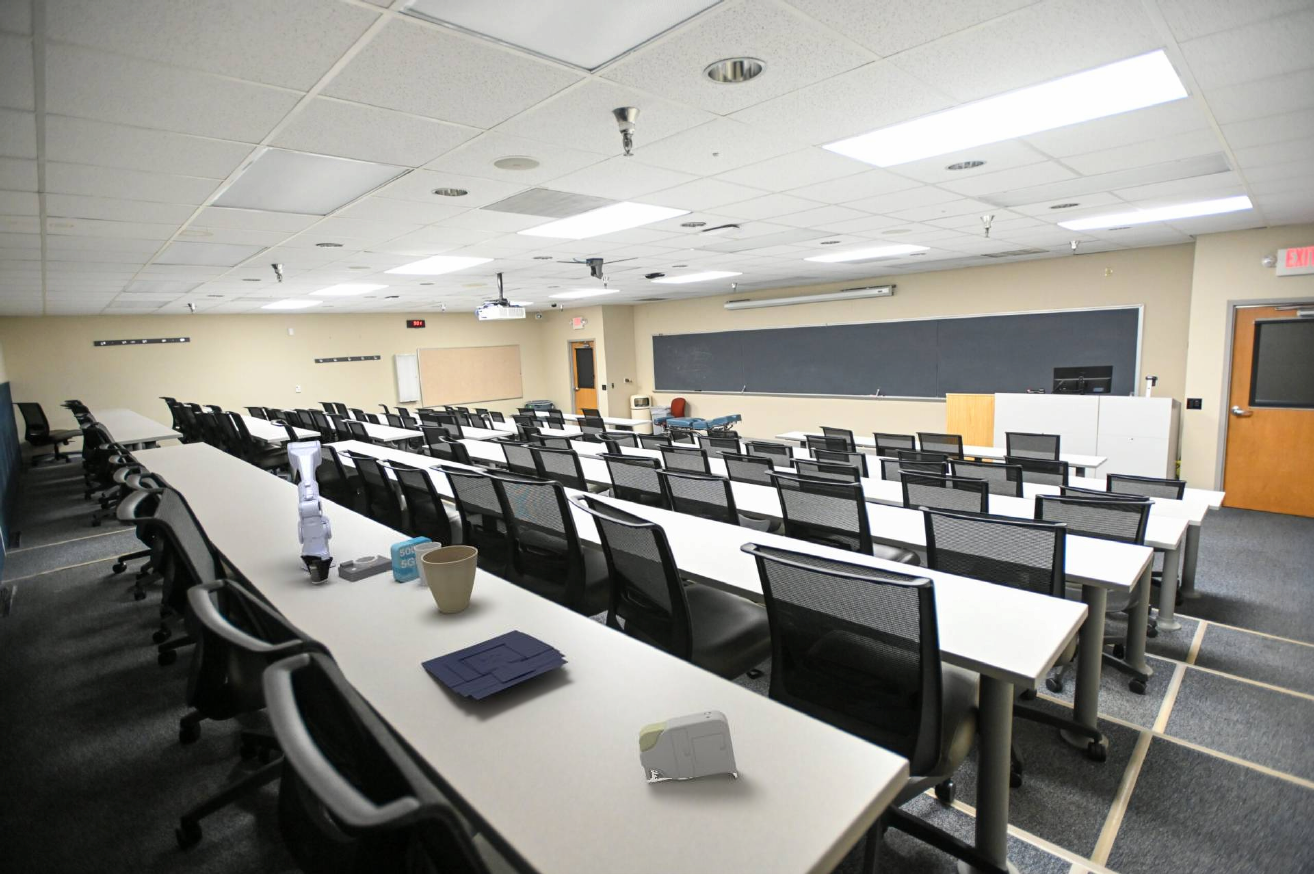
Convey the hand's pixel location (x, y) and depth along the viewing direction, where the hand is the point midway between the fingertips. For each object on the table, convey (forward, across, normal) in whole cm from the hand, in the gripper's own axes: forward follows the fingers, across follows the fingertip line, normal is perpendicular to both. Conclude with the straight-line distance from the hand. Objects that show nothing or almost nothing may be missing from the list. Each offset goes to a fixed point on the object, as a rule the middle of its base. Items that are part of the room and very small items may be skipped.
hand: (319, 577), depth 194 cm
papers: (+2, +95, -1) cm, 95 cm away
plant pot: (+2, +57, +13) cm, 58 cm away
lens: (+2, 0, 0) cm, 2 cm away
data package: (+2, +23, +20) cm, 31 cm away
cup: (+2, +33, +20) cm, 39 cm away
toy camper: (+2, +150, -4) cm, 150 cm away
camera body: (+2, +5, +13) cm, 14 cm away
